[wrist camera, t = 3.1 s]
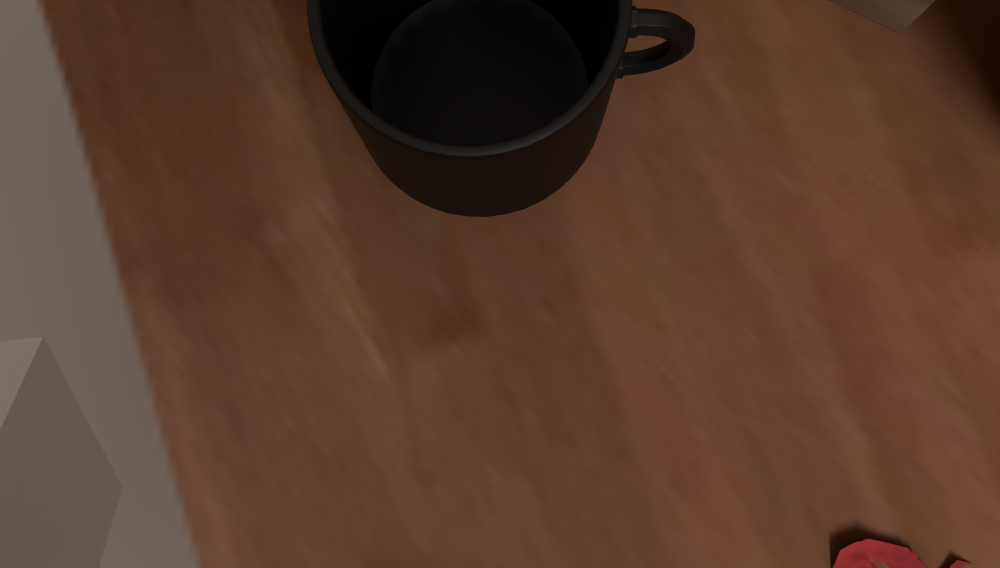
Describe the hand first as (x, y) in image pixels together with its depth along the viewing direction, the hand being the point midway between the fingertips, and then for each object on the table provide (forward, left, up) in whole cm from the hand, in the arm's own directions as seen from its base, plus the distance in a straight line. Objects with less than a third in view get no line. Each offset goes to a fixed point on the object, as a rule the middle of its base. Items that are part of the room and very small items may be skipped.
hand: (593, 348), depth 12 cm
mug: (-9, -6, -23) cm, 25 cm away
